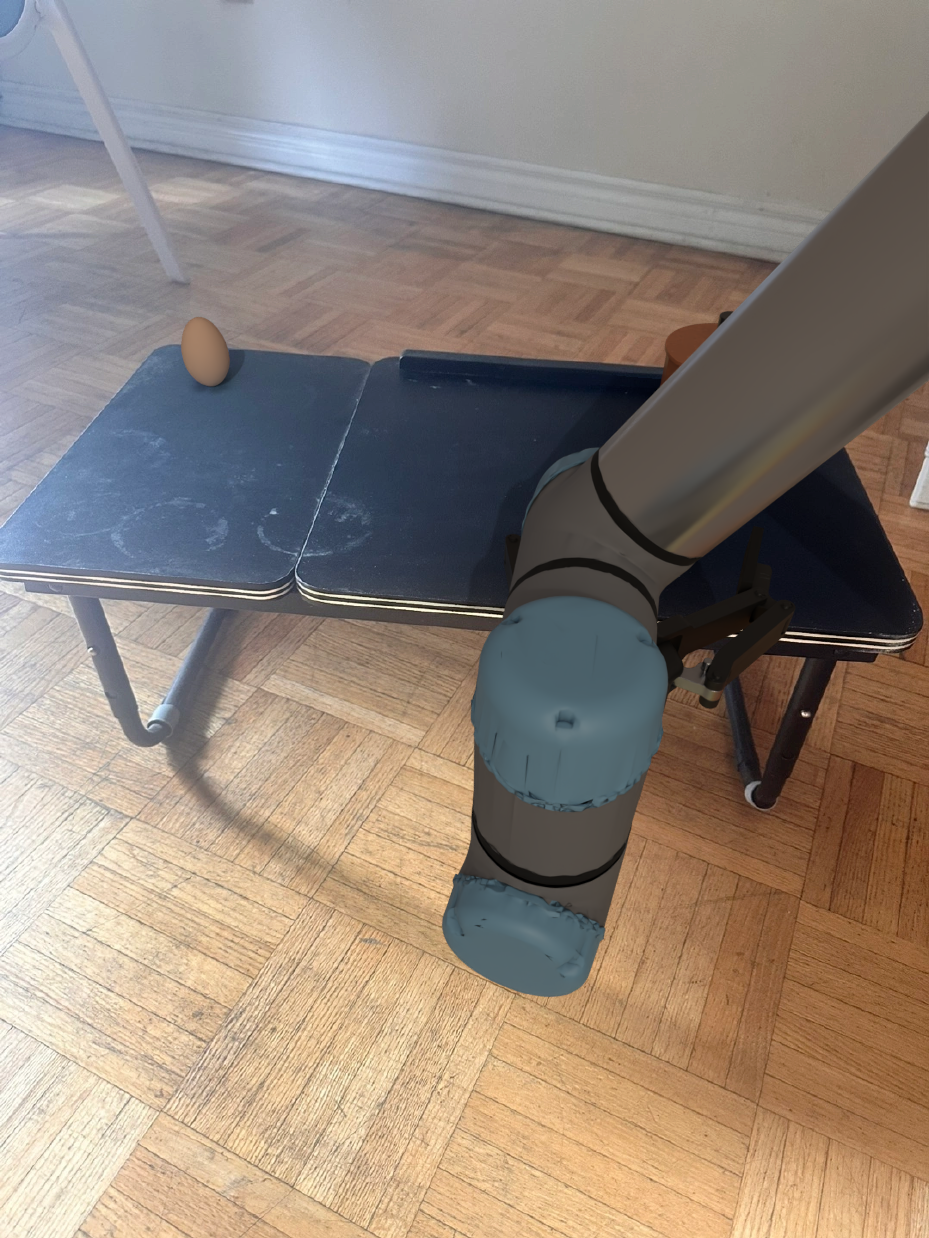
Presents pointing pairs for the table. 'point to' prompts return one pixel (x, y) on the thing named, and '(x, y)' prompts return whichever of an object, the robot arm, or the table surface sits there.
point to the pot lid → (690, 339)
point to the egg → (205, 352)
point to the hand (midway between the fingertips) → (663, 520)
